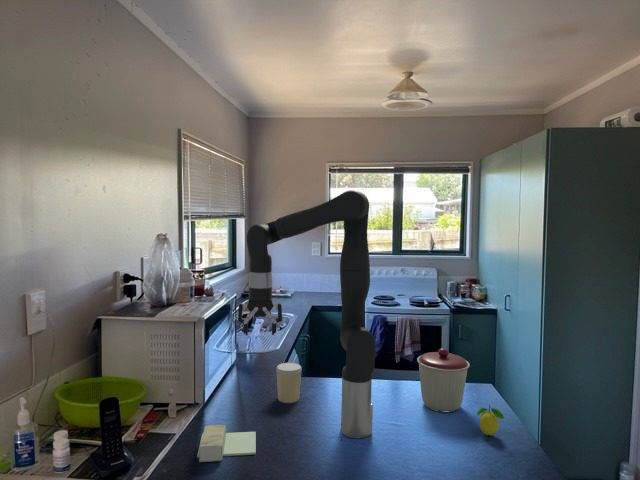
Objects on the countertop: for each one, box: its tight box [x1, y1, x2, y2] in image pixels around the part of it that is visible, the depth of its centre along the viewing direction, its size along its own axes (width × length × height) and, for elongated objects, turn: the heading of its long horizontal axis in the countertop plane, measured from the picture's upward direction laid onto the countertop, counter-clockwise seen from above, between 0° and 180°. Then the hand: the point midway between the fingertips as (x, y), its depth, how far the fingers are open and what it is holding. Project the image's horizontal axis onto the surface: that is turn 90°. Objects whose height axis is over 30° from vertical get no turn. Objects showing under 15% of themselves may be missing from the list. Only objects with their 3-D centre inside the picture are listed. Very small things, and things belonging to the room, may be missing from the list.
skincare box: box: [198, 424, 227, 463], centre depth 125 cm, size 6×4×12 cm
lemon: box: [476, 404, 505, 436], centre depth 137 cm, size 7×6×10 cm
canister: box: [416, 347, 471, 412], centre depth 158 cm, size 18×18×21 cm
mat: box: [196, 431, 257, 459], centre depth 129 cm, size 16×12×1 cm
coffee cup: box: [275, 362, 302, 404], centre depth 162 cm, size 9×9×12 cm
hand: (259, 334), depth 145 cm, fingers open, 8 cm apart
